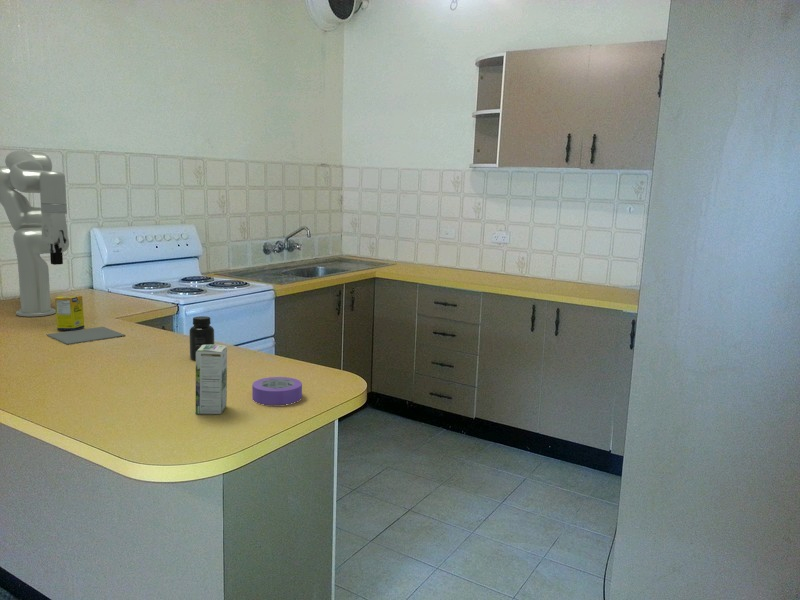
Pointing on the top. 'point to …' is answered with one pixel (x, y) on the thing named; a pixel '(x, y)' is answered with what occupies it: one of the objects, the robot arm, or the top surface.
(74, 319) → the supplement box
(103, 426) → the top surface
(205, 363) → the syrup box
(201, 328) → the supplement bottle
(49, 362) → the top surface
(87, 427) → the top surface
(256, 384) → the masking tape
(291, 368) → the top surface
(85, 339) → the mat
